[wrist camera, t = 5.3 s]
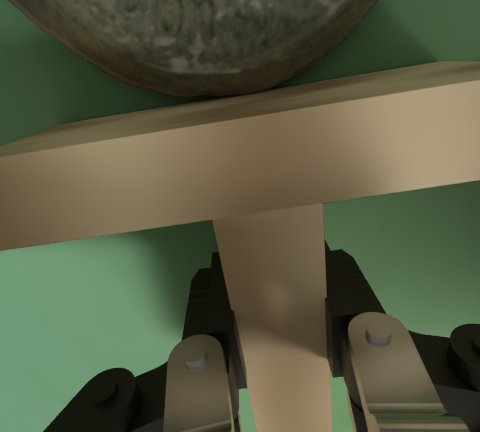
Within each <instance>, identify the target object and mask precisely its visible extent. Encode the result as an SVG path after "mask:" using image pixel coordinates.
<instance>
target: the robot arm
mask: <svg viewBox="0 0 480 432" xmlns="http://www.w3.org/2000/svg"><path fill="white" fill-rule="evenodd" d="M324 242H325V266H326V291H327V298H325V318H326V340H327V360H328V363H329V366H330V369H331V372H332V376H333V378H334V377H344V380H345V383H346V386H347V389H348V392H347V399H348V405H349V410H350V415H351V420H352V425H353V430H354V432H480V324H465V325H461V326H458V327H457V328H455V329H454V330H453V331H452V333H451V336H450V338H447V337H439V336H432V335H424V334H419V333H415V332H412V331H409V330H407V328H406V327H405V326H404V325H403V324H402V323H401V322H400V321H398V320H397V319H395V318H394V317H392V316H389V315H387V314H386V313H385V311H384V309H383V307H382V306H381V304H380V302H379V301H378V299H377V297H376V295H375V294H374V292H373V290H372V289H371V287H370V285H369V284H368V282H367V280H366V279H365V277H364V275H363V273H362V272H361V270H360V269H359V267H358V265H357V263H356V261H355V260H354V258H353V257H352V256H350V255H349V254H348V253H346V252H345V251H343V250H342V249H340V250H333V251H330V249H329V247H328V245H327V243H326V241H325V239H324ZM188 301H189V303H188V306H187V312H186V318H185V324H184V330H183V337H182V341H181V342H180V343H178V344H177V345H176V346H175V347H174V349H173V350H172V352H171V353H170V355H169V358H168V361H167V362H166V363H164V364H163V365H161V366H159V367H157V368H155V369H153V370H151V371H148V372H146V373H144V374H141V375H139V376H136V377H134V375H133V374H132V373H131V372H130V371H129V370H127V369H124V368H112V369H108V370H106V371H103V372H101V373H99V374H98V375H96V376H95V377H93V378H92V379H91V380H90V381H88V382H87V384H86V385H85V386H84V387H83V388H82V389H81V390H80V391H79V392H78V393H77V394H76V396H75V397H74V398H73V399H72V400H71V401H70V402H69V403H68V405H67V406H66V407H65V408H64V409H63V410H62V411H61V412H60V413H59V415H58V416H57V417H56V418H55V419H54V420H53V421H52V422H51V423H50V425H49V426H48V427H47V428H46V429H45V430H44V431H43V432H242V430H241V423H240V416H239V412H238V411H239V389H243V388H247V374H246V366H245V361H244V356H243V351H242V347H241V342H240V337H239V332H238V328H237V323H236V318H235V313H234V310H232V311H231V306H230V302H229V297H228V292H227V288H226V283H225V278H224V274H223V269H222V264H221V260H220V255H219V252H214V253H212V263H211V268H204V269H199V270H198V272H197V273H196V274H195V276H194V277H193V279H192V281H191V287H190V294H189V300H188Z"/></svg>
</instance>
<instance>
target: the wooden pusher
mask: <svg viewBox="0 0 480 432" xmlns="http://www.w3.org/2000/svg"><path fill="white" fill-rule="evenodd" d="M477 180H480V61H440V62H433V63H427V64H421V65H415V66H409V67H403V68H397V69H391V70H385V71H379V72H373V73H367V74H361V75H355V76H348V77H342V78H336V79H330V80H324V81H318V82H312V83H306V84H300V85H294V86H288V87H282V88H276V89H270V90H264V91H261V92H258V93H253V94H248V95H233V96H227V97H221V98H215V99H209V100H203V101H197V102H191V103H185V104H179V105H172V106H166V107H160V108H154V109H148V110H142V111H136V112H130V113H124V114H118V115H112V116H106V117H100V118H94V119H87V120H81V121H75V122H69V123H63V124H58V125H56V126H53V127H50V128H48V129H45V130H43V131H40V132H37V133H35V134H32V135H29V136H27V137H24V138H21V139H19V140H16V141H13V142H11V143H8V144H6V145H3V146H0V251H3V250H10V249H16V248H23V247H30V246H37V245H43V244H50V243H57V242H64V241H71V240H77V239H84V238H91V237H98V236H104V235H111V234H118V233H125V232H131V231H138V230H145V229H152V228H159V227H165V226H172V225H179V224H186V223H192V222H199V221H206V220H212V222H213V227H214V232H215V236H216V241H217V246H218V250H219V255H220V260H221V264H222V269H223V274H224V278H225V283H226V288H227V292H228V297H229V302H230V306H231V311H232V310H234V313H235V318H236V323H237V328H238V332H239V337H240V342H241V347H242V351H243V356H244V361H245V366H246V374H247V386H248V390H249V395H250V400H251V404H252V409H253V414H254V418H255V423H256V428H257V432H332V412H331V387H330V366H329V363H328V360H327V340H326V318H325V298H327V291H326V266H325V242H324V218H323V203H328V202H334V201H341V200H348V199H355V198H362V197H368V196H375V195H382V194H389V193H395V192H402V191H409V190H416V189H422V188H429V187H436V186H443V185H449V184H456V183H463V182H470V181H477Z"/></svg>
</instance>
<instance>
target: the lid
mask: <svg viewBox="0 0 480 432" xmlns="http://www.w3.org/2000/svg"><path fill="white" fill-rule="evenodd" d="M9 1H10V2H11V3H12V4H13V5H15V6H16V7H17V8H19V9H20V10H21V11H22V12H23V13H24V14H25V15H26V16H27V17H28V18H29V19H30V20H31V21H32V22H33V23H35V24H36V25H37V26H38V27H40V28H41V29H42V30H43V31H45V32H46V33H48V34H49V35H51V36H53V37H54V38H56V39H57V40H59V41H60V42H61V43H62V44H64V45H65V46H66V47H67V48H68V49H69V50H71V51H72V52H73V53H75V54H76V55H78V56H80V57H81V58H83V59H84V60H86V61H87V62H89V63H91V64H93V65H94V66H96V67H97V68H98V69H100V70H101V71H103V72H104V73H106V74H108V75H109V76H111V77H113V78H115V79H117V80H120V81H122V82H124V83H127V84H130V85H134V86H139V87H143V88H148V89H151V90H155V91H157V92H159V93H163V94H168V95H173V96H180V97H197V96H200V95H208V96H224V97H226V96H231V95H248V94H253V93H258V92H261V91H264V90H267V89H269V88H271V87H273V86H275V85H277V84H279V83H281V82H284V81H286V80H288V79H290V78H292V77H294V76H295V75H297V74H299V73H301V72H303V71H305V70H307V69H308V68H310V67H311V66H313V65H314V64H316V63H317V62H318V61H319V60H320V59H321V58H322V57H323V56H324V55H325V54H326V53H327V52H328V51H329V50H331V49H332V48H333V47H334V46H336V45H337V44H339V43H340V42H342V41H343V40H344V39H345V38H346V36H347V35H348V33H349V32H350V30H351V29H352V28H353V27H354V26H355V25H356V24H357V23H358V22H359V21H360V20H361V19H362V18H363V17H364V16H365V15H366V14H367V12H368V11H369V10H370V9H371V7H372V6H373V5H375V4H376V3H377V2H378V0H9Z"/></svg>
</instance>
